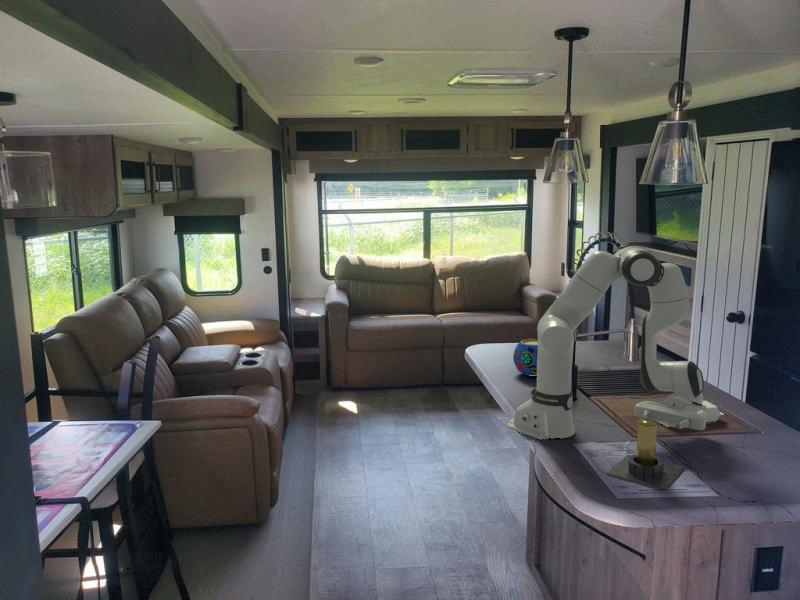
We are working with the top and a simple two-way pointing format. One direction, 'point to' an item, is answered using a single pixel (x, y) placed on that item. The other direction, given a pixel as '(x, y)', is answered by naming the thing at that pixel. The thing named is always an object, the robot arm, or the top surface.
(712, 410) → the milk
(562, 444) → the top surface
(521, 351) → the ceramic pot
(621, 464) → the square socket base
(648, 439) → the cylinder
